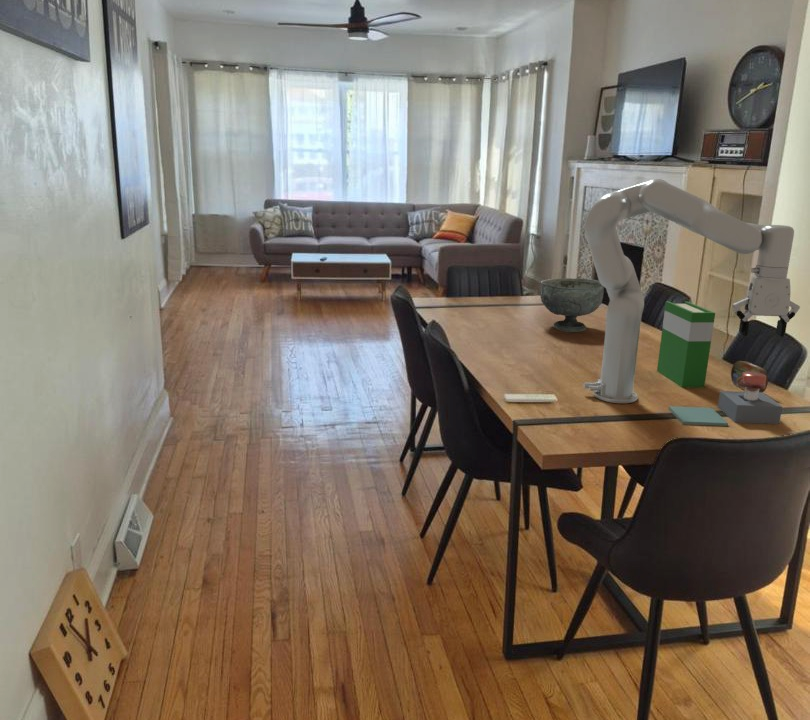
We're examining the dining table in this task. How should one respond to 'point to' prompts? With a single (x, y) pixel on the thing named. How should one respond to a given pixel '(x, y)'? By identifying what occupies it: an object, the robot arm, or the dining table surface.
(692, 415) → the mat
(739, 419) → the grey flat block
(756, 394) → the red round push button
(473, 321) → the dining table surface
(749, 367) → the tin
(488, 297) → the dining table surface
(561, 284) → the decorative bowl
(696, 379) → the green cereal box
